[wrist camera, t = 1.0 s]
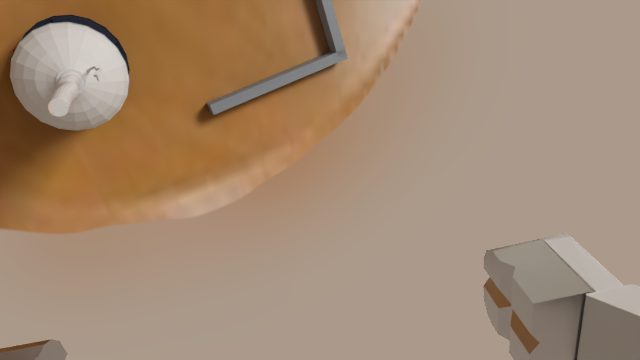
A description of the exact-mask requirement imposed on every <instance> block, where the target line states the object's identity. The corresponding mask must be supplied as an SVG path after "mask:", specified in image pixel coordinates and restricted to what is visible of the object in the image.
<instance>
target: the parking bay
mask: <svg viewBox="0 0 640 360" xmlns="http://www.w3.org/2000/svg"><path fill="white" fill-rule="evenodd" d="M315 2H316V5H317V9H318V12H319V16H320V19H321V23H322V26H323V29H324V33H325V36H326V40H327V43H328V47H329V50H330V52H329V53H326V54H324V55H322V56H319V57H317V58H314V59H312V60H309V61H307V62H305V63H302V64H300V65H297V66H295V67H293V68H290V69H288V70H285V71H283V72H280V73H278V74H276V75H273V76H271V77H268V78H266V79H263V80H261V81H259V82H256V83H254V84H251V85H249V86H246V87H244V88H242V89H239V90H237V91H234V92H232V93H230V94H227V95H225V96H222V97H220V98H217V99H215V100H213V101H210V102H208V103H206V104H207V106H208V108H209V111H210V113H212V114H213V115H215V114H218V113H220V112H222V111H225V110H227V109H229V108H232V107H234V106H236V105H239V104H241V103H244V102H246V101H248V100H251V99H253V98H255V97H258V96H260V95H262V94H265V93H267V92H270V91H272V90H274V89H277V88H279V87H281V86H284V85H286V84H288V83H291V82H293V81H296V80H298V79H300V78H303V77H305V76H307V75H310V74H312V73H314V72H317V71H319V70H322V69H324V68H326V67H329V66H331V65H333V64H336V63H338V62H340V61H343V60H345V59H348V58H347V55H346V51H345V48H344V44H343V40H342V37H341V33H340V30H339V26H338V22H337V19H336V15H335V12H334V8H333V4H332V1H331V0H315Z"/></svg>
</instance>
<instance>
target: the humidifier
mask: <svg viewBox="0 0 640 360" xmlns="http://www.w3.org/2000/svg"><path fill="white" fill-rule="evenodd" d="M10 79H11V82H12V85H13V89H14V92H15V95H16V96H17V98H18V99H19V101H20V102H21V103H22V105H23V106H24V108H25V109H26V110H27V111H28V112H30V113H31V114H32V115H33V116H35V117H36V118H37V119H38V120H40V121H41V122H44V123H46V124H48V125H51V126H53V127H56V128H58V129H66V130H75V131H78V130H84V129H91V128H95V127H97V126H99V125H101V124H103V123H105V122H107V121H109V120H110V119H111V118H112V117H113V116H114V115H115V114H116V113H117V112H118V111H119V110H120V109H121V107H122V105H123V103H124V101H125V99H126V97H127V95H128V87H129V66H128V61H127V56H126V53H125V51H124V50H123V48H122V46H121V44H120V43H119V41H118V39H117V38H116V37H115V36H113V35H112V34H111V33H110V32H109V31H108V30H107V29H106V28H105V27H103V26H102V25H100V24H98V23H96V22H94V21H92V20H90V19H88V18H83V17H79V16H74V15H62V16H52V17H50V18H47V19H45V20H43V21H40V22H38V23H36V24H35V25H34V26H33V27H32V28H31V29H30V30H29V31H27V32H26V33H25V34H24V36H23V38H22V40H21V41H20V42H19V43H18V46H17V48H16V49H14V50H13V56H12V58H11V69H10Z"/></svg>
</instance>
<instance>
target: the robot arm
mask: <svg viewBox="0 0 640 360" xmlns="http://www.w3.org/2000/svg"><path fill="white" fill-rule="evenodd" d="M484 268H485V270H486V271H487V273H488V274H489V276H490V278H489V279H488V281H487V282H486V283H485V285H484V301H485V305H486V309H487V313H488V316H489V318H490V320H491V323H492V324H493V326H494V328H495V330H496V331H497V333H498V334H499V335H501V336H503V337H505V338H507V339H509V340H510V354H511V355H512V357H513V359H514V360H640V287H639V286H636V285H633V284H631V285H626V286H624V285H623V284H622V283H621V282H619V281H618V280H617V279H616V278H615V277H614V276H613V275H612V274H611V273H610V272H609V271H608V270H606V269H605V268H604V267H603V266H602V265H601V264H600V263H599V262H597V260H596V259H594V258H593V257H592V256H591V255H590V254H589V253H588V252H587V251H586V250H584V249H583V248H582V247H581V246H580V245H579V244H578V243H577V242H576V241H575V240H574V239H573V238H571V236H569V235H567V234H564V233H561V234H557V235H552V236H548V237H544V238H540V239H537V240H533V241H529V242H524V243H519V244H515V245H510V246H505V247H500V248H495V249H491V250H487V251H486V253H485V256H484ZM66 356H67V353H66V351H65V349H64V348H63V346H62V345H61V343H60V341H56V340H46V341H40V342H35V343H29V344H24V345H18V346H13V347H7V348H2V349H0V360H65V358H66Z"/></svg>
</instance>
